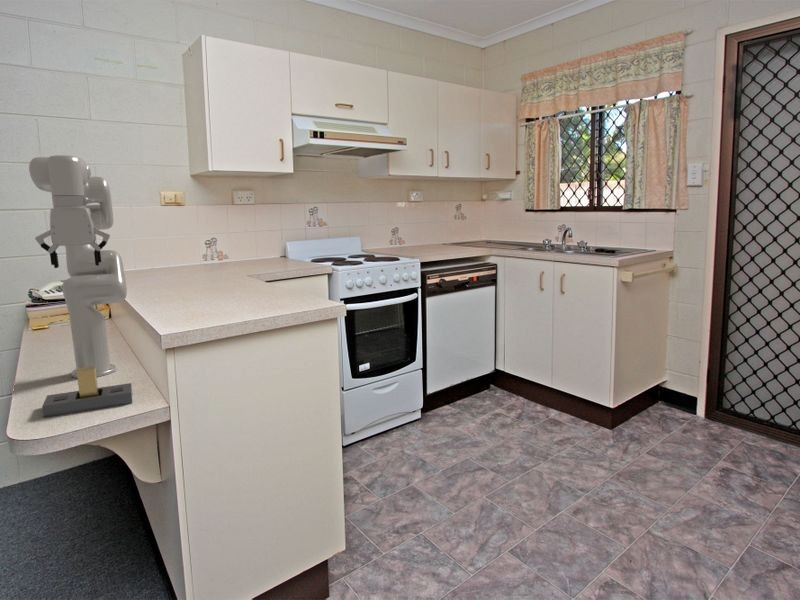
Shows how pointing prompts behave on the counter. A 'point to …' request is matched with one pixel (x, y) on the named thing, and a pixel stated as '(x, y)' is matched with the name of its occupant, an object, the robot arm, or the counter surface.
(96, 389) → the brass peg
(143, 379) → the counter surface
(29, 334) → the counter surface
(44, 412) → the grey peg hole board
